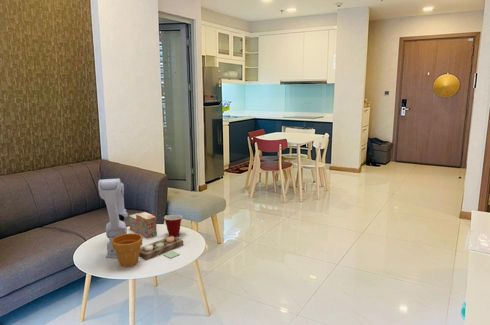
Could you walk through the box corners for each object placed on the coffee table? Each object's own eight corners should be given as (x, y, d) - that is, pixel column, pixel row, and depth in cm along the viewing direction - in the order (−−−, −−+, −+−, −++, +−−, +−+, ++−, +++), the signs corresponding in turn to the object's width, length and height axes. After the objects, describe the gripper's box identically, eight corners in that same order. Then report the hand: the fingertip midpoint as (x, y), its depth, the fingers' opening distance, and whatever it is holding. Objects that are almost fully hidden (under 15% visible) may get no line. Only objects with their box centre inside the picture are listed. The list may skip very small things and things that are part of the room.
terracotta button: (169, 245, 202) (169, 240, 201) (164, 243, 205) (164, 238, 204) (176, 242, 205) (175, 237, 205) (171, 240, 208) (170, 235, 207)
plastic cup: (185, 232, 224) (184, 213, 222) (181, 239, 214) (180, 219, 211) (167, 232, 225) (166, 213, 223) (162, 239, 214) (161, 219, 212)
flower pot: (120, 256, 193) (118, 233, 190) (147, 256, 192) (145, 233, 190) (109, 269, 179) (107, 244, 176) (138, 269, 178) (136, 244, 176)
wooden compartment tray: (146, 260, 188) (146, 254, 187) (135, 254, 195) (135, 249, 194) (183, 245, 206) (183, 240, 205) (172, 240, 212) (171, 235, 212)
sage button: (159, 251, 197) (158, 246, 196) (154, 249, 200) (153, 244, 199) (165, 248, 200) (165, 243, 200) (160, 246, 203) (160, 241, 203)
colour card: (170, 258, 189) (170, 257, 189) (163, 255, 193) (163, 254, 193) (179, 254, 194) (179, 254, 194) (172, 251, 198) (172, 250, 198)
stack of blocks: (129, 229, 230) (128, 210, 227) (138, 227, 234) (137, 208, 232) (148, 239, 215) (146, 219, 213) (157, 236, 219) (156, 216, 217)
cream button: (147, 254, 192) (147, 248, 191) (142, 251, 194) (142, 246, 194) (154, 251, 195) (154, 246, 194) (149, 248, 198) (149, 243, 197)
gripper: (132, 204, 205) (133, 227, 207) (118, 199, 214) (120, 221, 217) (120, 207, 199) (122, 231, 202) (106, 202, 209) (108, 225, 212)
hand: (120, 226), depth 209 cm, fingers closed
